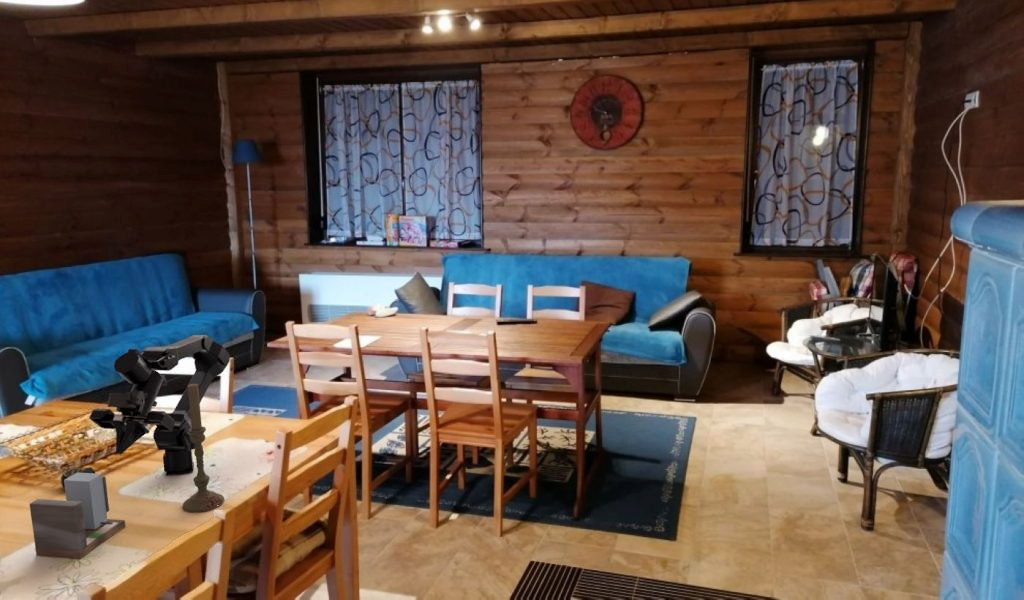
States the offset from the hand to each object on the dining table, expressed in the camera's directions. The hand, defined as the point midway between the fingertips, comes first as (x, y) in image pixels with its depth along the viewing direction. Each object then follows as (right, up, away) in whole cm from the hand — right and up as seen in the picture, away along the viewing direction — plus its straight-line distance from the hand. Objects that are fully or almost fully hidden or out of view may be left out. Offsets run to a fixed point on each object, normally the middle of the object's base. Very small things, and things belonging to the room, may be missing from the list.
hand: (118, 453), depth 170 cm
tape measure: (-18, -12, +16) cm, 27 cm away
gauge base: (-1, -16, -12) cm, 20 cm away
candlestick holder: (+18, -13, +5) cm, 23 cm away
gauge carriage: (0, -13, -9) cm, 16 cm away
